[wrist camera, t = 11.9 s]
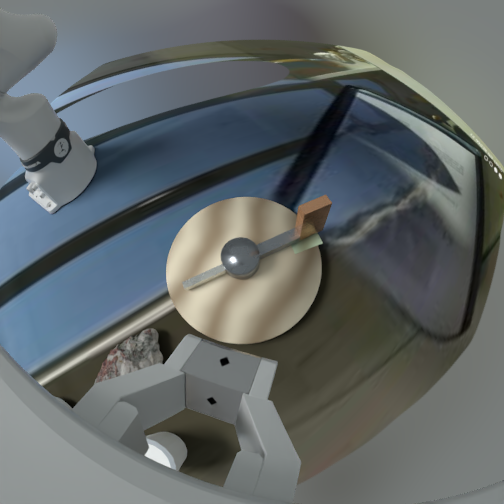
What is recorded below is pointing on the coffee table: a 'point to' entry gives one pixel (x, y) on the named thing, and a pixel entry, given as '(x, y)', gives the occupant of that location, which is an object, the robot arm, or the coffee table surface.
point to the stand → (243, 290)
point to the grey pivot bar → (265, 245)
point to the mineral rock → (131, 356)
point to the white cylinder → (166, 449)
